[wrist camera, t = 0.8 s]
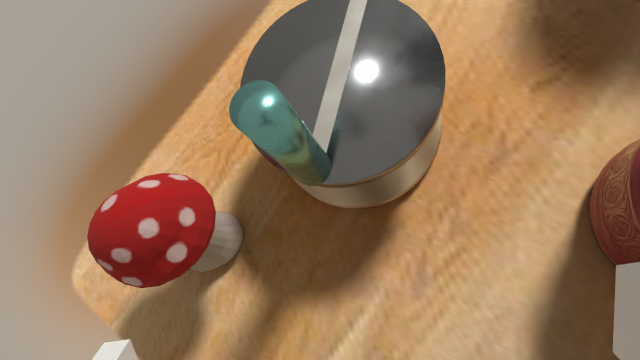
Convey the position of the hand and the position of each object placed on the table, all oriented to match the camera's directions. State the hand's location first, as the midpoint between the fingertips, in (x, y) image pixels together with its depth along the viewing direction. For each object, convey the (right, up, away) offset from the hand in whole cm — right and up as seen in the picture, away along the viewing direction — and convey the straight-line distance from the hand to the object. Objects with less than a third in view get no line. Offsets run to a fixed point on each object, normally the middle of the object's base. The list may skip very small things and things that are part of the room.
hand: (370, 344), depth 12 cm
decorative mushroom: (-12, -2, +31) cm, 34 cm away
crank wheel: (+2, +10, +27) cm, 29 cm away
